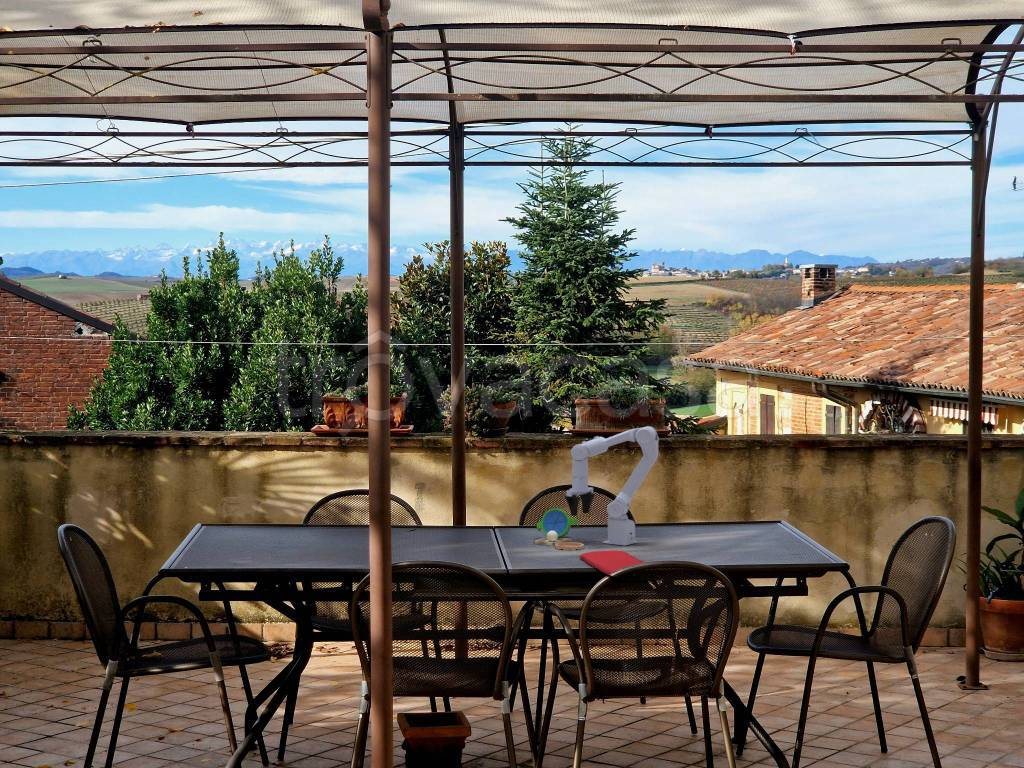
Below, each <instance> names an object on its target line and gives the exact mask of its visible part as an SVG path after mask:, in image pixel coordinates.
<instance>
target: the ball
mask: <svg viewBox="0 0 1024 768" xmlns="http://www.w3.org/2000/svg"><path fill="white" fill-rule="evenodd" d="M546 538H547V539H548V540H549V541H550V542H554V541H556V540H557V538H558V534H557V533H556V532H555V531H549V532H548V533H547V534H546Z"/></svg>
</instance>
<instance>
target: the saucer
mask: <svg viewBox="0 0 1024 768" xmlns="http://www.w3.org/2000/svg"><path fill="white" fill-rule="evenodd" d="M555 548H556V550H559V549H563V550H562V551H575V550H574V549H581V550H583V549H582V548H584V549H585V544H584V543H581V542H574V541H573V542H562V543H557V544H555V546H554V549H555Z"/></svg>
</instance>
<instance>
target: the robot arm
mask: <svg viewBox="0 0 1024 768" xmlns="http://www.w3.org/2000/svg"><path fill="white" fill-rule="evenodd" d="M627 441H629V442H632V443H635V442H637V443H638V445H639V446H640V448H641V452H642V457H641V459H640V460H639V462H638V464H637V465H636V466H635V468H634V469H633V471H632V473H631V474H630V476H629V478H628V479H627V481H626V482H625V484H624V486H623V487H622V488H621V490H620V492H619V493H618V494H617V496H616V497H615V499H614V500H613V501H611V502H610V503H609V504H607V507H606V513H607V515H608V516H607V540H605V541H602V543H603V544H610V545H617V546H618V545H620V546H627V545H628V546H629V545H632V544H636V543H637V541H636V523H635V521H634V520H632V519H629V516H628V515H627V513H628V512H629V507H630V503H631V501H632V500H633V498H634V496H635V494H636V493H637V491H638V490H639V487H640V486H641V485H642V483H643V482H644V480H645V478H646V477H647V475H648V474H649V472H650V471H651V469H652V467H653V466H654V464H655V463H656V461H657V459H658V458H659V441H660V439H659V436H658V432H657V430H656V429H655V428H654V426H653V427H652V426H650V425H647V426H644V427H636V428H632V429H628V430H626V431H623V432H621V433H617V434H615V435H613V436H612V435H611V436H609V437H607V438H605V437H603V436H599V435H597V436H594V437H593V439H591V440H588V441H586V440H583V441H582V442H581V443H578V444H576V445H574V446H572V448H571V450H570V455H571V458H572V466H571V468H572V469H571V473H572V474H571V475H572V476H571V477H572V478H571V482H572V483H571V486H572V487H571V488H569V489H568V490H566V495H565V496H564V499H565V500H566V503H567V505H568V507H569V511H570V515H571V516H575V517H576V516H578V513H579V511H578V510H579V503H580V500H581V507H582V513H583V514H590V509H591V505H592V502H593V500H594V499H595V496H596V495H595V493H594V487H589V464H588V461H589V460H588V458H591V457H594V456H597V455H600V454H603V453H605V452H607V451H608V449H609V447H613V446H615V445H618V444H621V443H622V444H623V443H624V442H627Z"/></svg>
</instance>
